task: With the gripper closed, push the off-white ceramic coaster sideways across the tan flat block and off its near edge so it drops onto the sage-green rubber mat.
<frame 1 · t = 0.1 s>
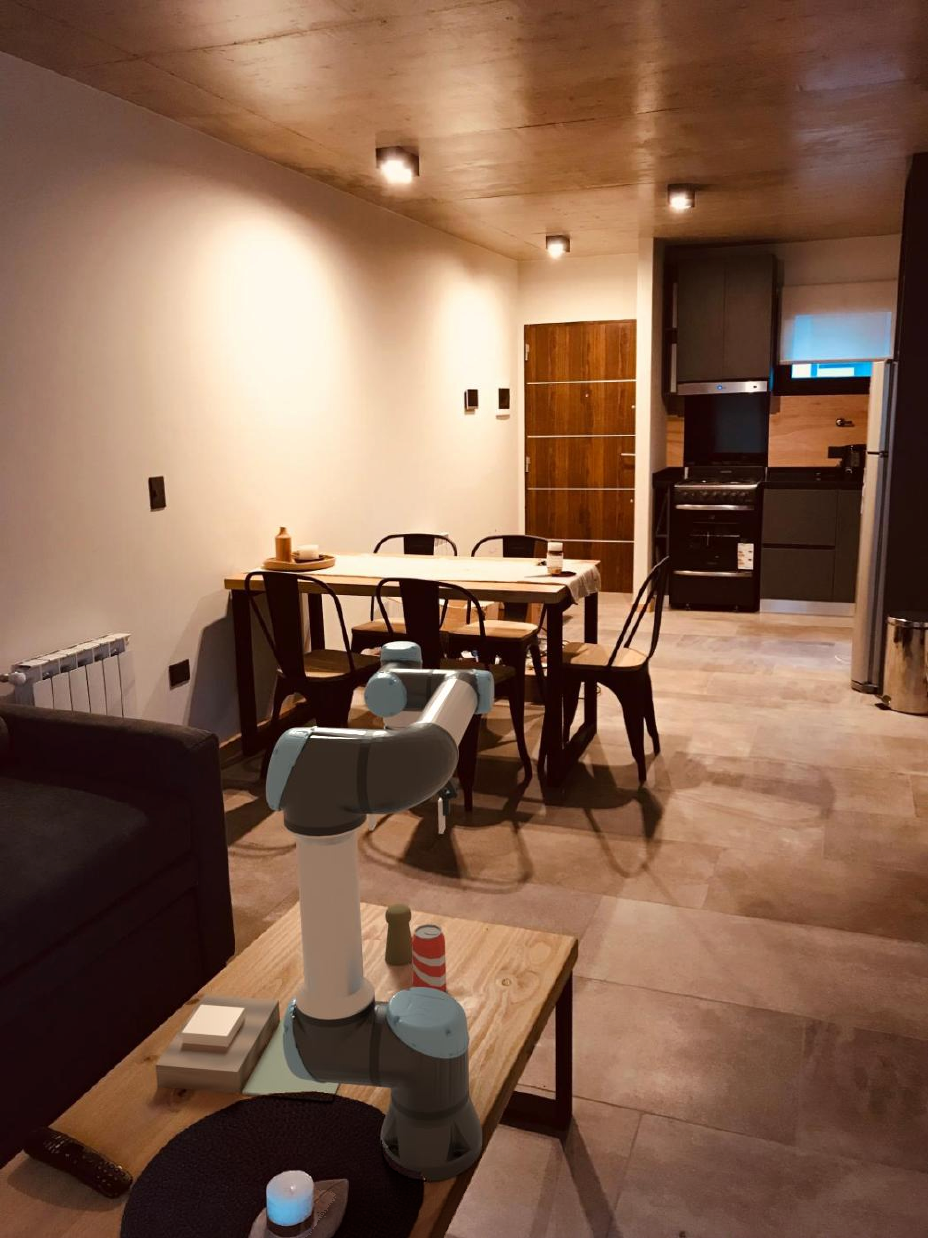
hand: (407, 829, 196), 28 cm above the table, fingers open, 13 cm apart
mat: (305, 1058, 173), on the table
beverage can: (429, 990, 193), on the table
coffee box: (337, 983, 195), on the table
coaster: (214, 1030, 175), point 4 cm above the table, touching tan flat block
tan flat block: (221, 1051, 175), on the table
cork: (400, 958, 204), on the table
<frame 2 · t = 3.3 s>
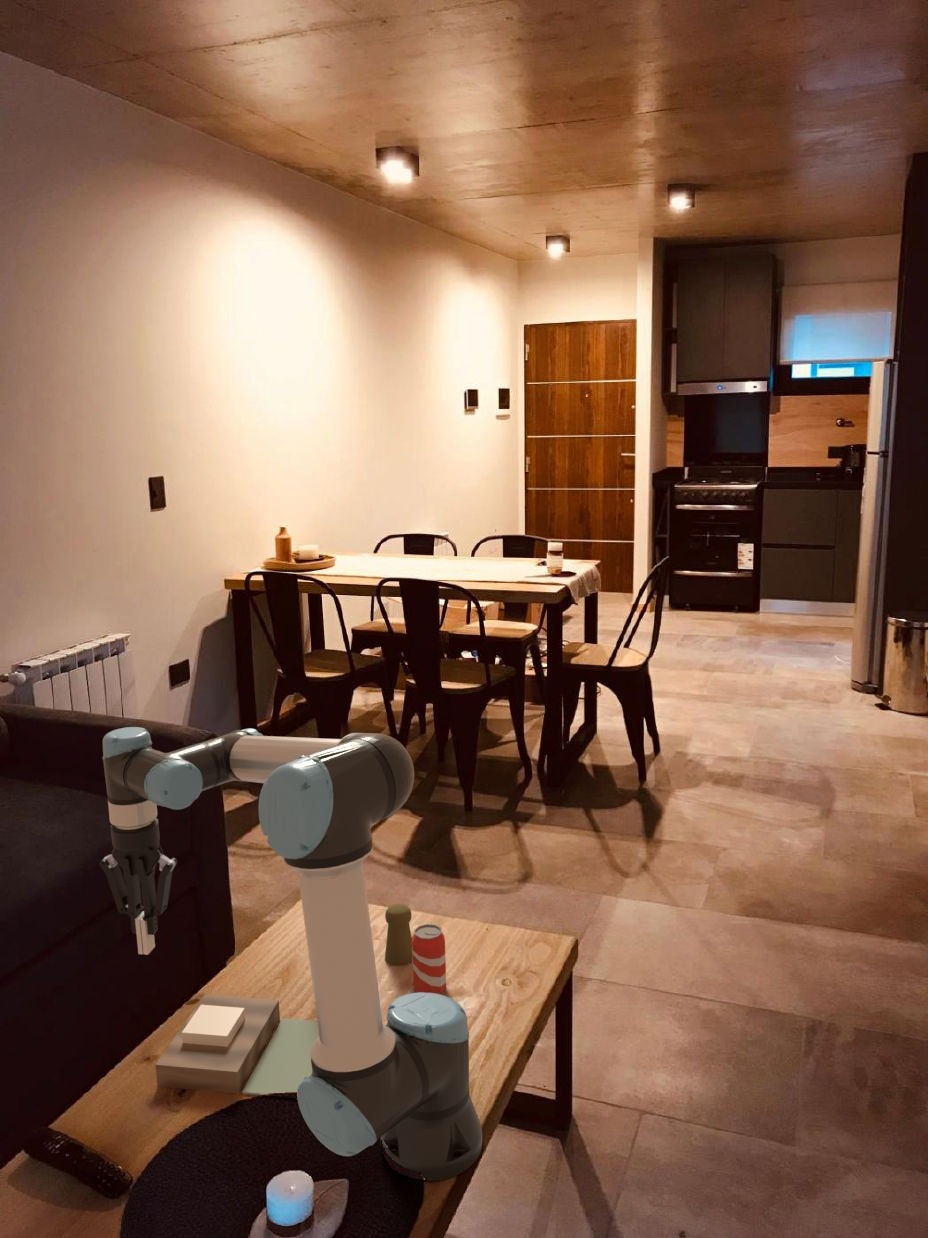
hand: (146, 950, 173), 18 cm above the table, fingers closed
nothing on the table moved.
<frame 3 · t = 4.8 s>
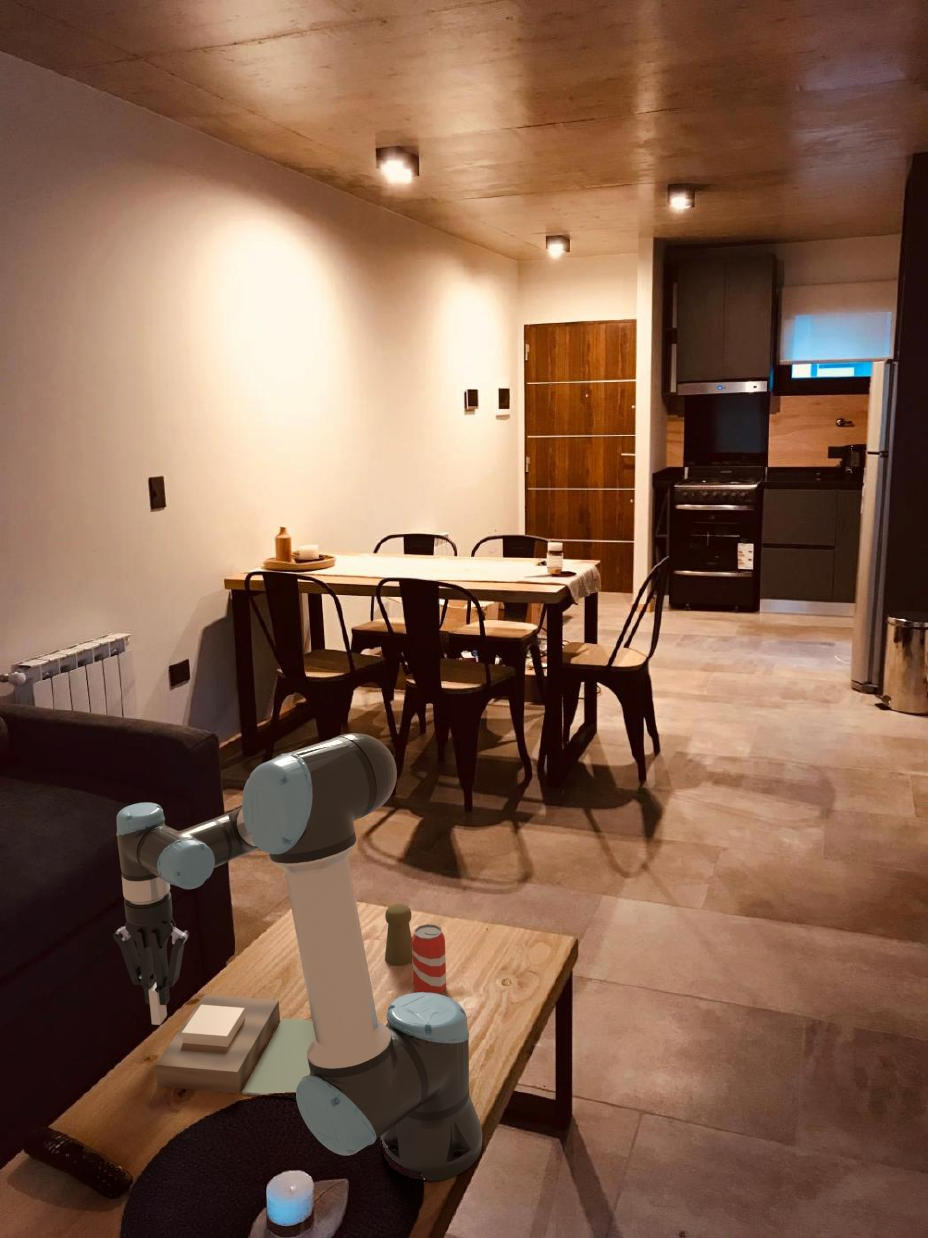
hand: (159, 1019, 176), 5 cm above the table, fingers closed
nothing on the table moved.
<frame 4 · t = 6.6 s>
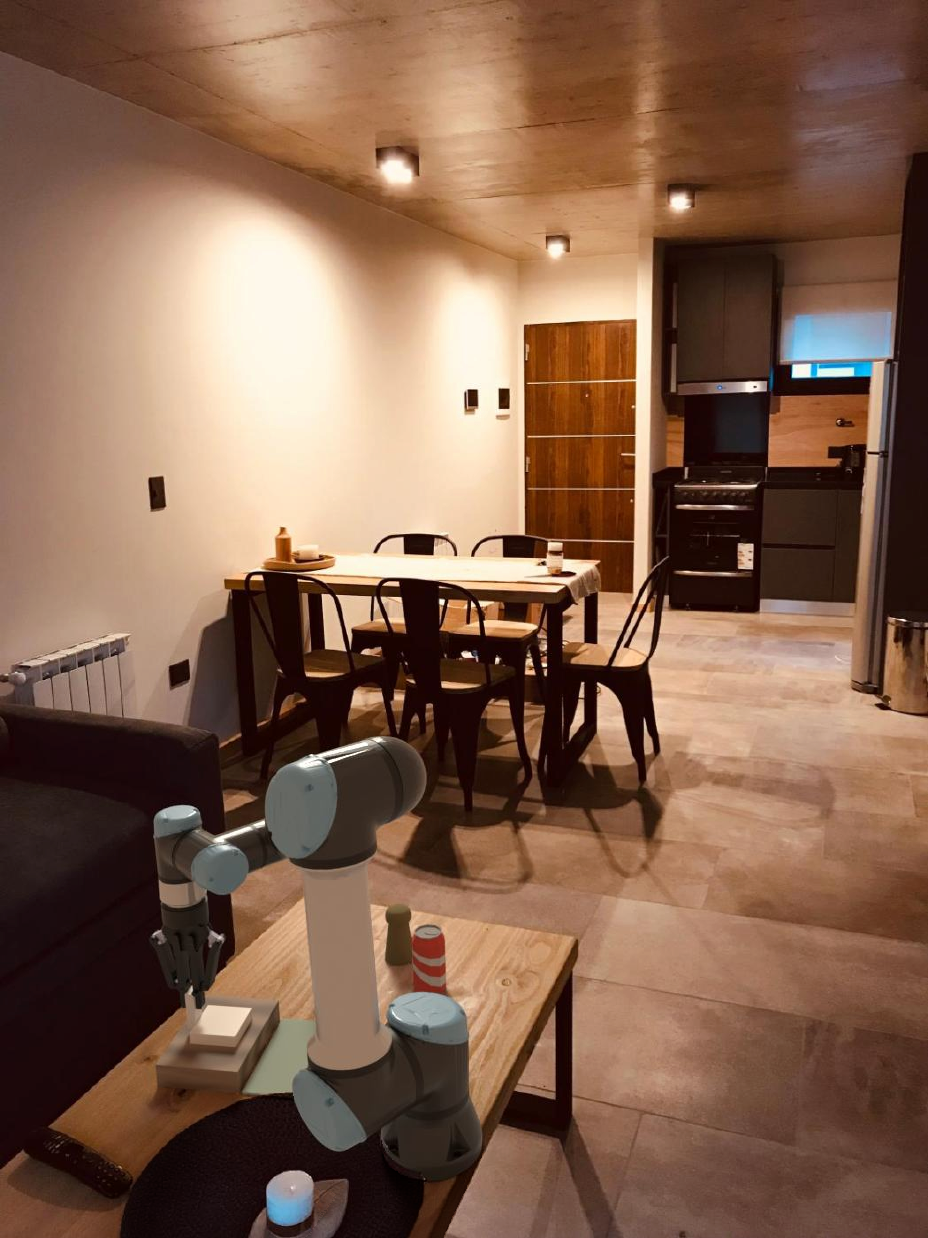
hand: (195, 1024, 175), 5 cm above the table, fingers closed
coaster: (222, 1031, 175), point 4 cm above the table, touching gripper
everything else where it was.
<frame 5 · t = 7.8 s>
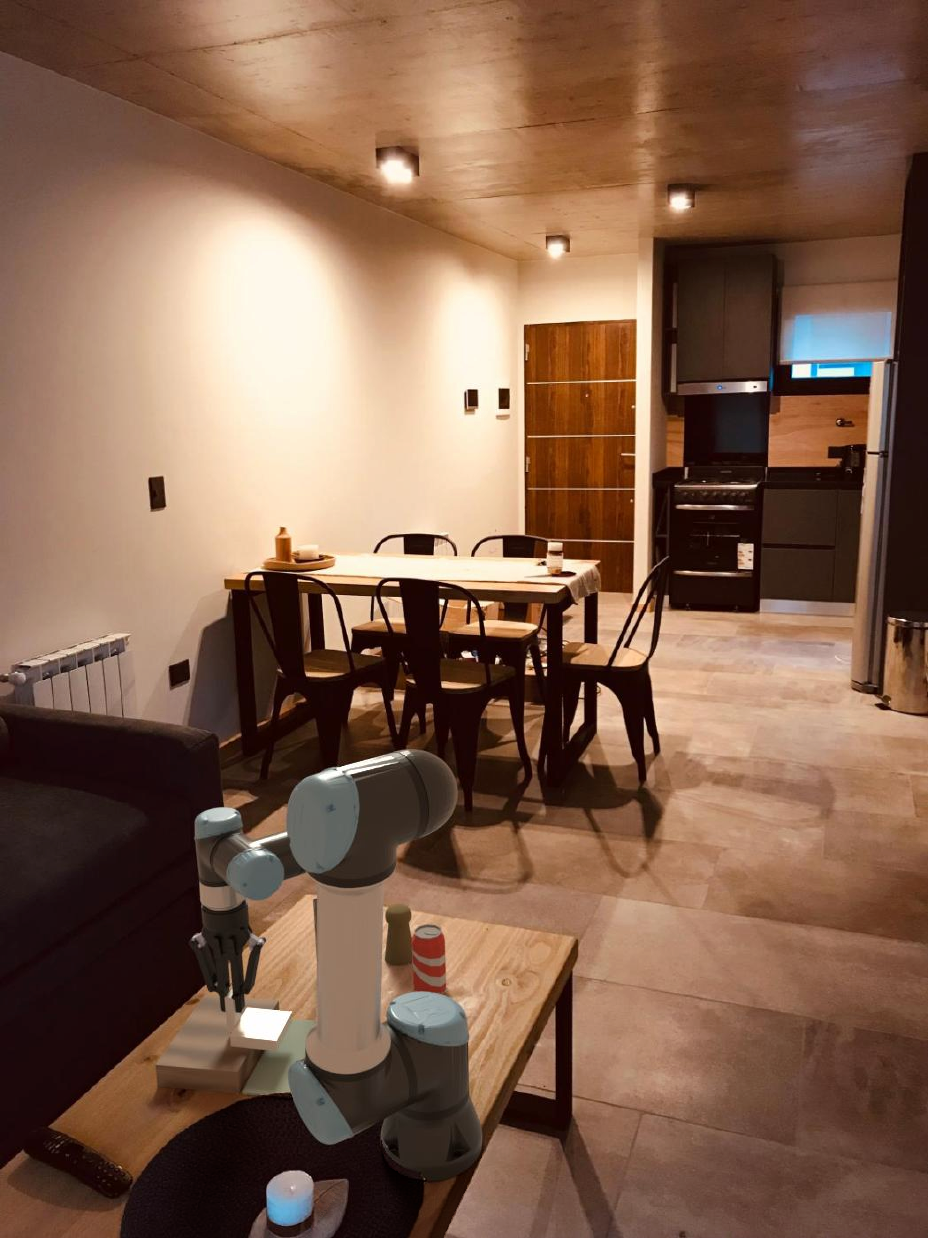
hand: (234, 1027, 174), 5 cm above the table, fingers closed
coaster: (261, 1034, 174), point 4 cm above the table, touching tan flat block, gripper
everything else where it was.
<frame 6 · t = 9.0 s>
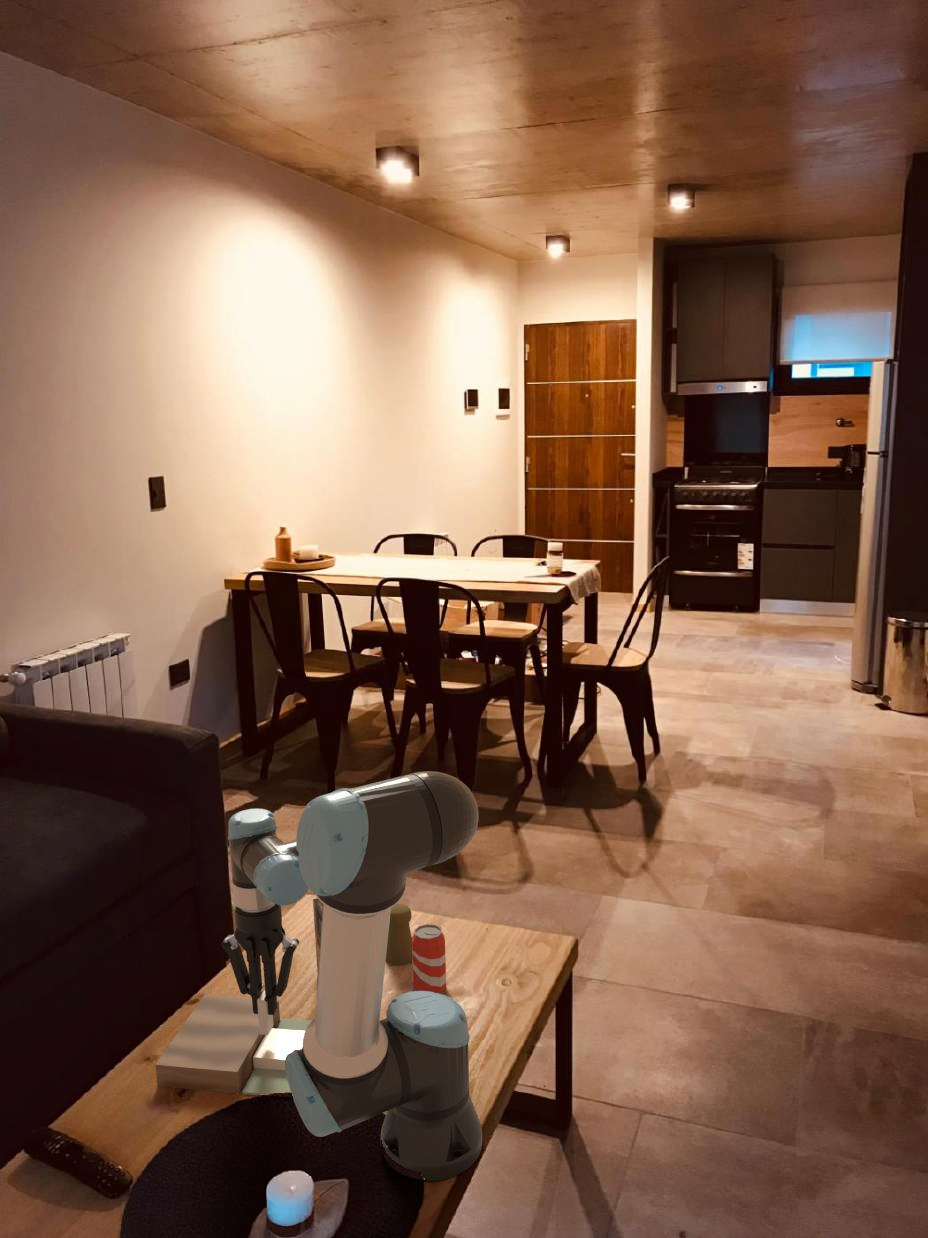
hand: (266, 1029, 173), 5 cm above the table, fingers closed
coaster: (284, 1054, 174), resting on mat
everything else where it was.
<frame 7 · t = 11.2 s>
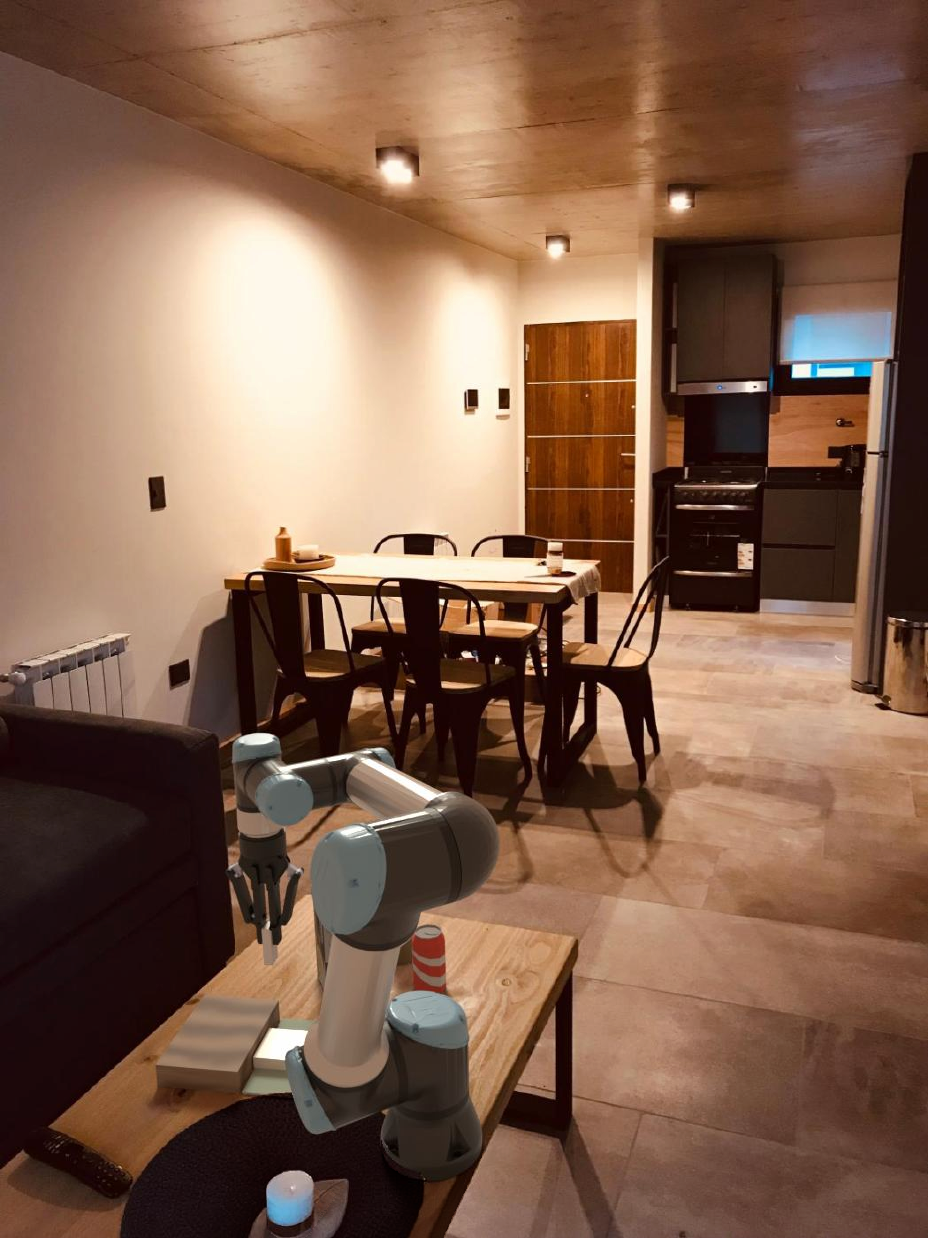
hand: (271, 960, 170), 18 cm above the table, fingers closed
nothing on the table moved.
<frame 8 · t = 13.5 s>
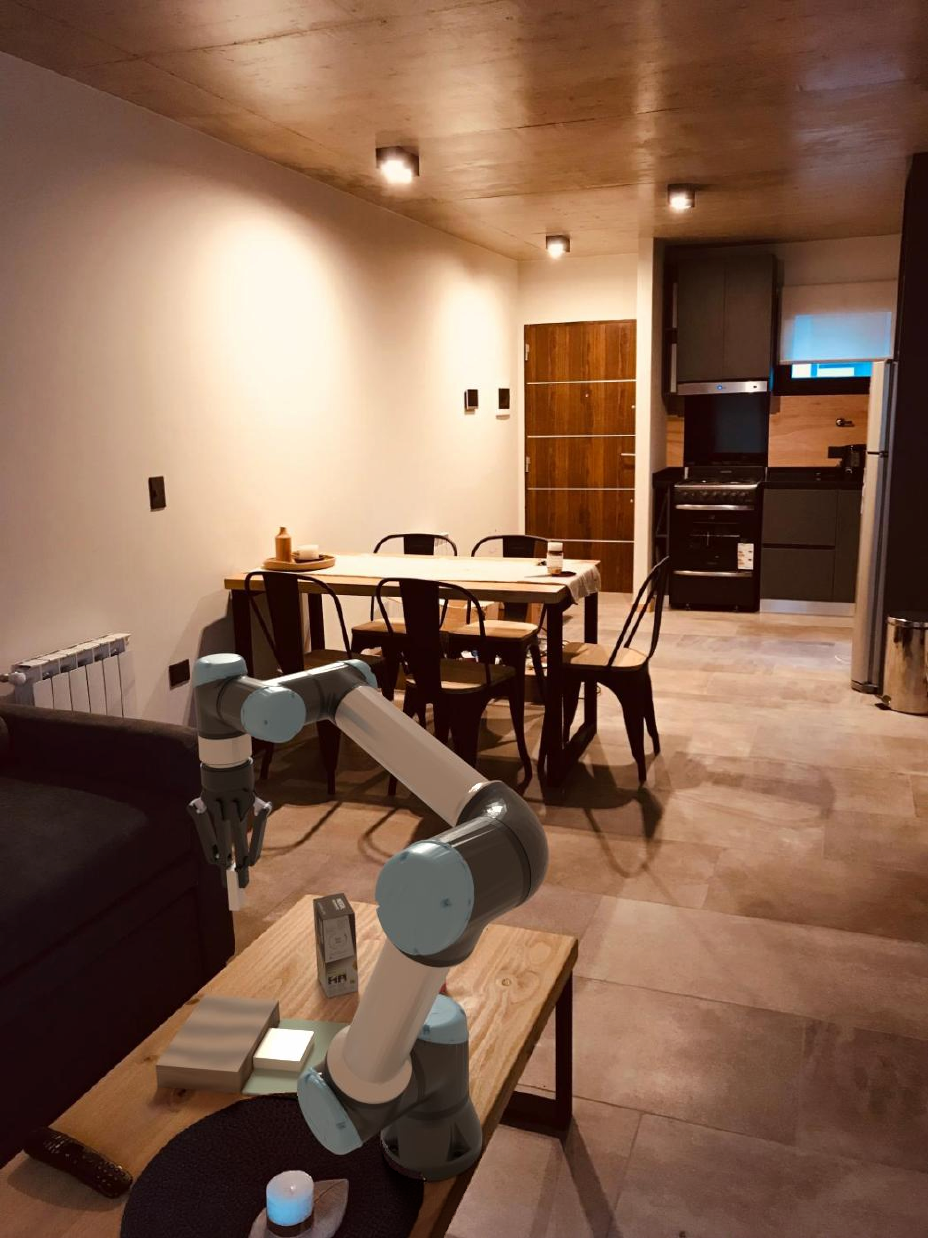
hand: (237, 906, 155), 34 cm above the table, fingers closed
nothing on the table moved.
at the end: coaster inside the target area (3.8 cm from its centre), resting on mat; coaster touching mat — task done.
